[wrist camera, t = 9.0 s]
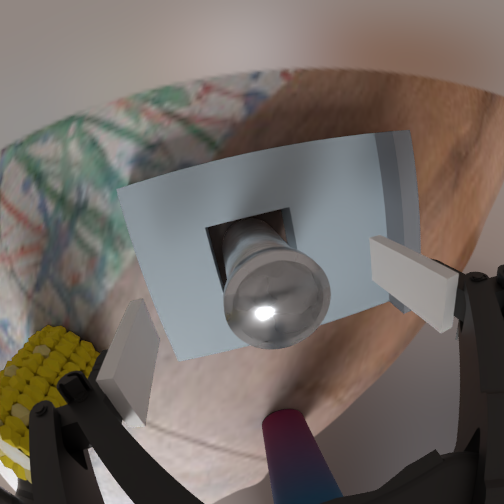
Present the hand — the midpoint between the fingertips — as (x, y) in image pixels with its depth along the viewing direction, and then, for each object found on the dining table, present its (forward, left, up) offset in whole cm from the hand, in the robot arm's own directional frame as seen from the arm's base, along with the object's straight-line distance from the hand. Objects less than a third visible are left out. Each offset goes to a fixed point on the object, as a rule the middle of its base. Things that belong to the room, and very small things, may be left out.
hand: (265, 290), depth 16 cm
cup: (-1, -22, -8) cm, 23 cm away
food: (-21, -7, -8) cm, 23 cm away
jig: (+2, 0, -8) cm, 8 cm away
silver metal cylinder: (0, 0, -8) cm, 8 cm away
